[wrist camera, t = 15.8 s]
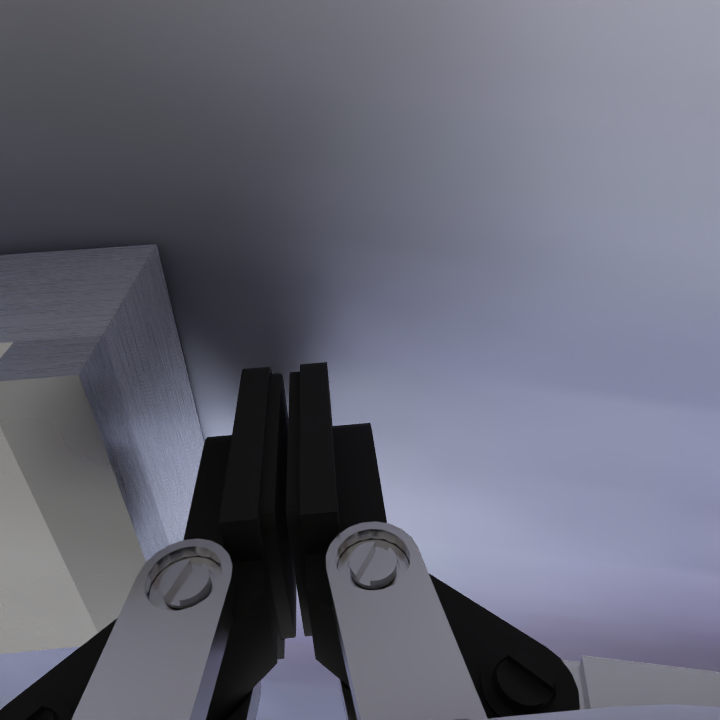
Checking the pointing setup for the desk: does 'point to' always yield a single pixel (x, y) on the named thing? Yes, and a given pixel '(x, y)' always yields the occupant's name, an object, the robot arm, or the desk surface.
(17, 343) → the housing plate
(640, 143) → the desk surface
